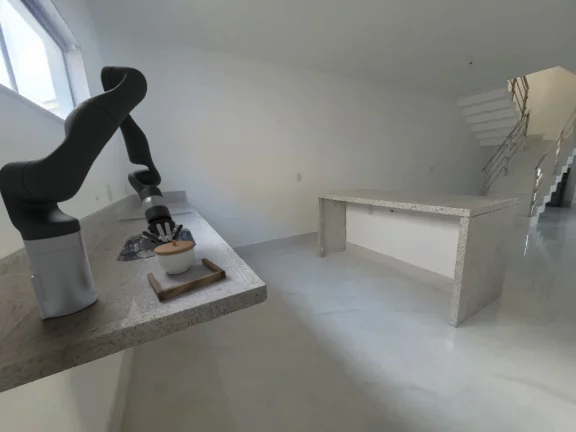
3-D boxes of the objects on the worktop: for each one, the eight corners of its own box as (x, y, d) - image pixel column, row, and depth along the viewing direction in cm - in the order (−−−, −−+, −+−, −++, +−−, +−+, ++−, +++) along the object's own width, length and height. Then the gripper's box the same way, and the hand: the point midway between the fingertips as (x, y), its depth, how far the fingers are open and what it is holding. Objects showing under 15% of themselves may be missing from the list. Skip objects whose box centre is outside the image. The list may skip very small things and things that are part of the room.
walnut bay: (159, 301, 54) (157, 293, 54) (148, 280, 66) (146, 273, 66) (226, 277, 64) (225, 271, 64) (205, 263, 76) (205, 257, 76)
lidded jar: (203, 262, 77) (199, 234, 75) (186, 277, 66) (181, 245, 65) (171, 263, 78) (167, 236, 76) (150, 278, 67) (144, 247, 66)
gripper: (134, 207, 76) (147, 252, 69) (177, 202, 84) (193, 241, 77) (134, 221, 81) (147, 264, 74) (175, 215, 89) (190, 253, 82)
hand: (171, 252), depth 76 cm, fingers closed
